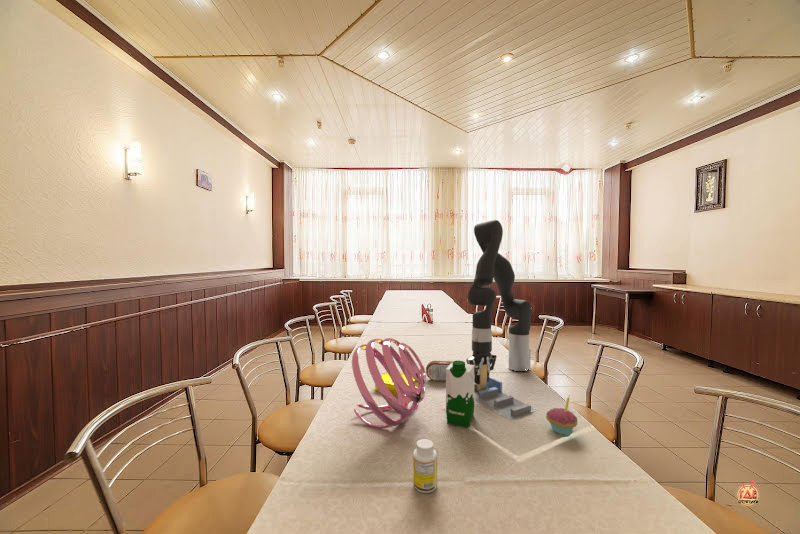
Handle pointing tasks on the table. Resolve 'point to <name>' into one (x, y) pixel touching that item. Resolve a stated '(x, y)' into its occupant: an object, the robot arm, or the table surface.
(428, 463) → the supplement bottle
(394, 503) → the table surface
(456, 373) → the milk carton
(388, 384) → the element tile
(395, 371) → the spiral basket
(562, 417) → the cupcake
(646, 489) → the table surface
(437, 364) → the tin
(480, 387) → the yellow bottle
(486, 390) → the slotted grey board
